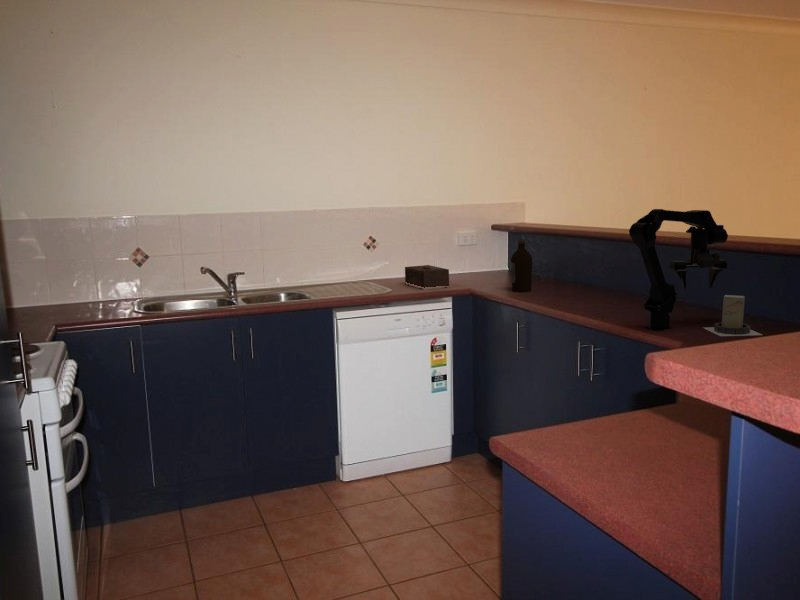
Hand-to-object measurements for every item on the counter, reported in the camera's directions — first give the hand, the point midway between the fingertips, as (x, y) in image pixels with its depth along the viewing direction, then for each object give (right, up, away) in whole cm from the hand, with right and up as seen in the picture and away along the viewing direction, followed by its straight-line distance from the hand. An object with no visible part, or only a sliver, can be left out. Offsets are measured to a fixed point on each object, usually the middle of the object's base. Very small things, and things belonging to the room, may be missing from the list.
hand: (697, 288), depth 240 cm
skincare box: (+6, -15, -14) cm, 21 cm away
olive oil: (-47, 0, +92) cm, 103 cm away
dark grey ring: (+6, -15, -14) cm, 21 cm away
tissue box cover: (-93, +3, +120) cm, 152 cm away
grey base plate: (+6, -15, -14) cm, 21 cm away
